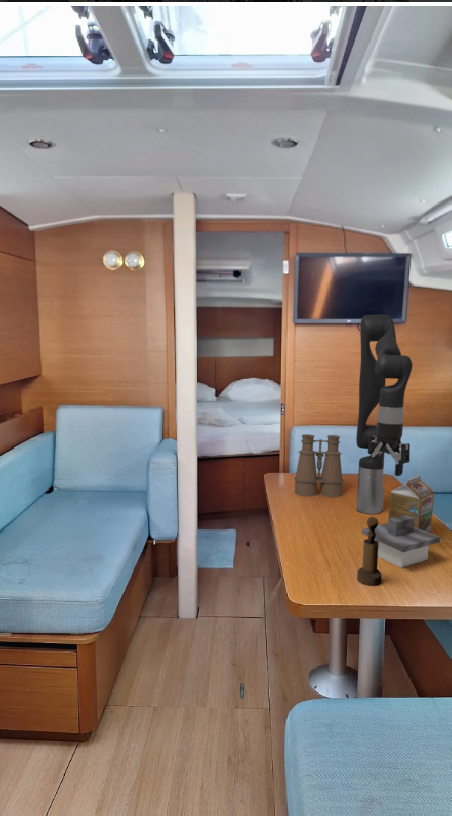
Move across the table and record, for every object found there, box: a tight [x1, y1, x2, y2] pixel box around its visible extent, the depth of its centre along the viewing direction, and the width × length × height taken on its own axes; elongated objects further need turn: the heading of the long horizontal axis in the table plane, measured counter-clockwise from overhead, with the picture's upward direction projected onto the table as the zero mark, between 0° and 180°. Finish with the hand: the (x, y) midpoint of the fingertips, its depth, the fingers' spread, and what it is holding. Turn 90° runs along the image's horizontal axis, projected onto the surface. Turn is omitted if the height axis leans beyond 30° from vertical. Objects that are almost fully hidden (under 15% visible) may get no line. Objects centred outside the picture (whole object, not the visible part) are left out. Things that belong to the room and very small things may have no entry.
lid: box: [361, 515, 441, 552], centre depth 161 cm, size 16×16×6 cm
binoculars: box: [293, 433, 344, 498], centre depth 224 cm, size 21×10×25 cm, turn 88°
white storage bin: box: [374, 539, 430, 569], centre depth 162 cm, size 12×12×6 cm
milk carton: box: [388, 475, 435, 534], centre depth 182 cm, size 11×11×19 cm
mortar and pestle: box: [356, 516, 383, 587], centre depth 145 cm, size 7×6×18 cm
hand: (386, 472), depth 164 cm, fingers open, 8 cm apart
